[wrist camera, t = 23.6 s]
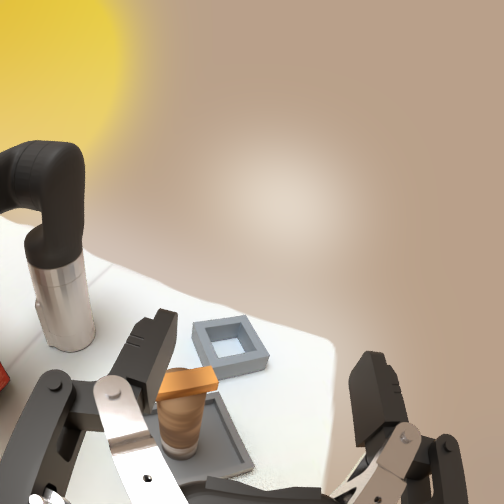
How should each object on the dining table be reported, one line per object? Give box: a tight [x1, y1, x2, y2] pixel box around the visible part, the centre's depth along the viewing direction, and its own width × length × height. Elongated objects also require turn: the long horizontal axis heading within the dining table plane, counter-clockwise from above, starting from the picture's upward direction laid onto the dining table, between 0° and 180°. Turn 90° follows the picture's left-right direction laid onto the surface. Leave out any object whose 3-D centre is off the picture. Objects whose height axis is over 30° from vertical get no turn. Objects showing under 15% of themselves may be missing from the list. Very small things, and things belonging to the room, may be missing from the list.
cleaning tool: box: [155, 366, 219, 461], centre depth 29 cm, size 6×5×17 cm
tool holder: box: [192, 315, 270, 380], centre depth 49 cm, size 10×10×4 cm
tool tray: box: [142, 392, 255, 486], centre depth 33 cm, size 16×13×2 cm
